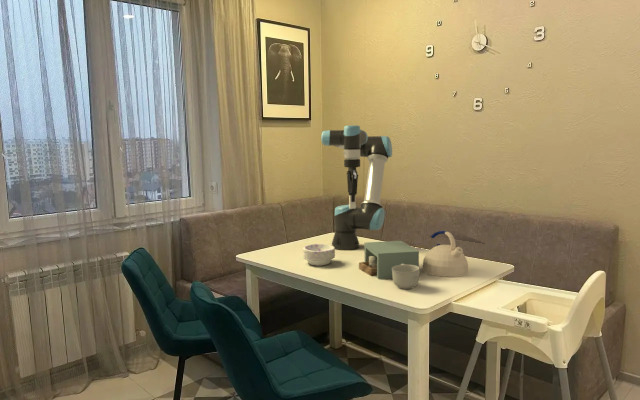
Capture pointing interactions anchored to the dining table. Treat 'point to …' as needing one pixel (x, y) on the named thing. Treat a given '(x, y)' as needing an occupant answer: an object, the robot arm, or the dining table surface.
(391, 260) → the sage green box
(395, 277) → the teacup
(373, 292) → the dining table surface
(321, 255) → the paper bowls
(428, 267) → the kettle
